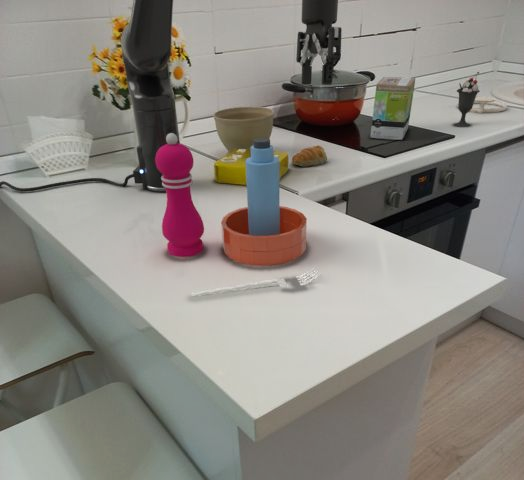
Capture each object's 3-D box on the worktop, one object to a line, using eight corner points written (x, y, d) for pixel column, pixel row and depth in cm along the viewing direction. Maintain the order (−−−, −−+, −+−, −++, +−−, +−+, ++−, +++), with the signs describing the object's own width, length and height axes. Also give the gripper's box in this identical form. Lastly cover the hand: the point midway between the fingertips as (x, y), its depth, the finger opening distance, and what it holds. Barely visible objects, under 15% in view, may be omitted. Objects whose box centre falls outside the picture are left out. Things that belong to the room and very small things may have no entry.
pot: (217, 267, 84) (214, 237, 81) (230, 232, 96) (228, 204, 92) (304, 269, 83) (305, 238, 79) (306, 233, 94) (307, 205, 91)
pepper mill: (171, 264, 85) (153, 141, 74) (161, 248, 91) (142, 131, 79) (211, 256, 88) (200, 135, 76) (199, 240, 93) (186, 125, 81)
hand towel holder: (510, 91, 182) (509, 102, 166) (507, 104, 184) (506, 116, 169) (461, 89, 187) (456, 99, 172) (459, 102, 190) (453, 113, 174)
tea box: (403, 140, 147) (411, 84, 138) (369, 138, 150) (374, 83, 141) (408, 129, 158) (416, 76, 150) (376, 127, 161) (382, 75, 152)
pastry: (302, 169, 127) (302, 154, 124) (285, 164, 131) (285, 149, 129) (329, 162, 131) (329, 147, 129) (311, 157, 136) (311, 142, 133)
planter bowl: (225, 146, 147) (222, 106, 141) (279, 147, 144) (278, 106, 138) (209, 162, 135) (205, 118, 128) (268, 164, 132) (267, 119, 125)
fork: (190, 293, 77) (189, 282, 76) (314, 276, 80) (314, 266, 79) (193, 304, 75) (191, 293, 73) (320, 286, 78) (321, 275, 77)
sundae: (477, 125, 160) (488, 72, 151) (463, 128, 157) (474, 74, 148) (460, 121, 164) (470, 70, 155) (446, 124, 161) (455, 72, 152)
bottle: (247, 253, 87) (242, 144, 76) (251, 240, 91) (246, 135, 81) (278, 253, 86) (277, 144, 76) (280, 240, 91) (280, 135, 80)
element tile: (270, 188, 116) (270, 167, 113) (212, 182, 120) (210, 162, 118) (290, 169, 127) (290, 149, 124) (236, 165, 132) (235, 145, 129)
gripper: (287, 0, 108) (286, 84, 116) (323, -10, 97) (319, 84, 105) (317, 2, 111) (313, 84, 119) (355, -7, 100) (348, 84, 108)
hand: (316, 84), depth 112 cm, fingers open, 8 cm apart
